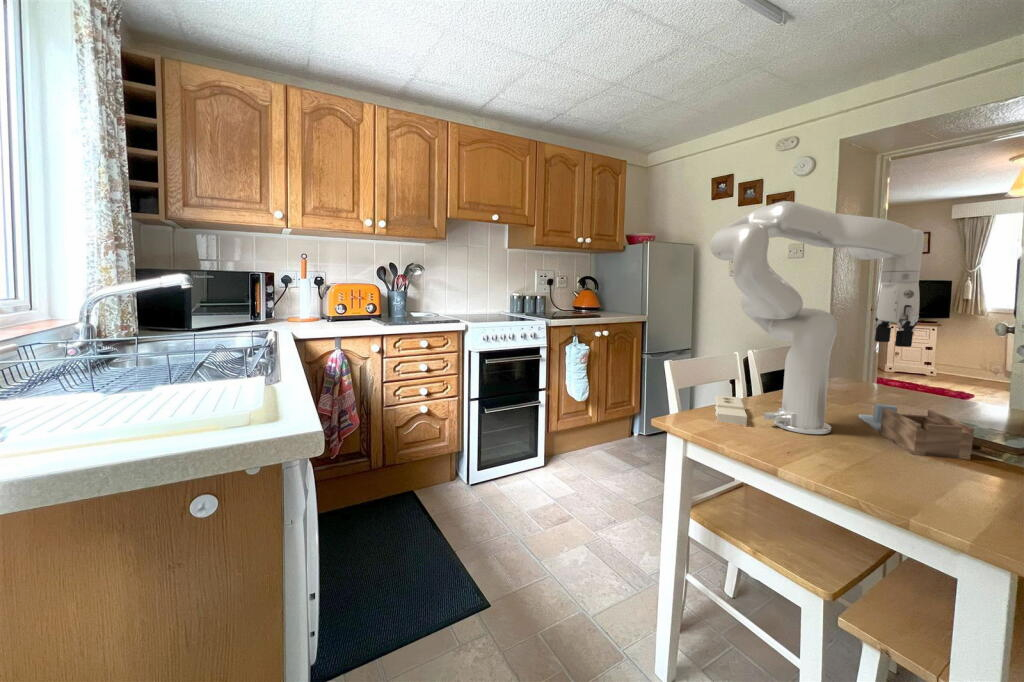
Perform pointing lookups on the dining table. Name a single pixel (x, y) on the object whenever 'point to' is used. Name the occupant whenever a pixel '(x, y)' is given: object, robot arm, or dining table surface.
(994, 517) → the dining table surface
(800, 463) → the dining table surface
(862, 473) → the dining table surface
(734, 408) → the electrical outlet
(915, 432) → the box
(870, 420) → the lid
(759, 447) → the dining table surface
